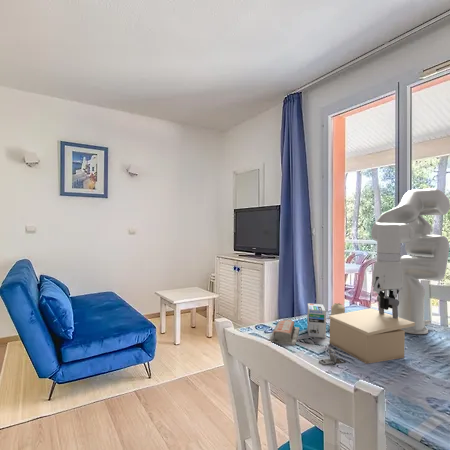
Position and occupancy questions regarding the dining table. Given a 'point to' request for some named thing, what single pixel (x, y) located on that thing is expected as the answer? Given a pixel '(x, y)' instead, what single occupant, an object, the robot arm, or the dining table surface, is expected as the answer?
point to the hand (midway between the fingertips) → (387, 307)
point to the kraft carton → (368, 343)
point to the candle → (337, 309)
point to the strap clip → (331, 359)
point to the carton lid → (373, 319)
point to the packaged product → (285, 333)
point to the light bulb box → (316, 320)
